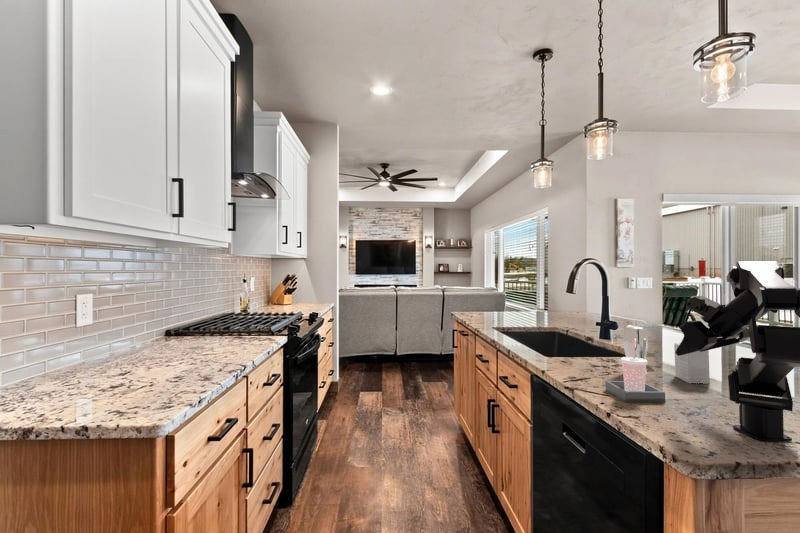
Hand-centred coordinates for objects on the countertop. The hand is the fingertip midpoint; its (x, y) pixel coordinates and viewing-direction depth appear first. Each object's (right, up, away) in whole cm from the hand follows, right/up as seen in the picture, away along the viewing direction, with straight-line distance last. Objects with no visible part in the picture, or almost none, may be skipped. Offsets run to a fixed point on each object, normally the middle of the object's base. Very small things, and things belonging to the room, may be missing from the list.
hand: (688, 352), depth 93 cm
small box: (+18, -14, +22) cm, 31 cm away
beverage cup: (-8, -13, +9) cm, 18 cm away
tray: (-8, -14, +9) cm, 18 cm away
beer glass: (+6, -14, +30) cm, 34 cm away
